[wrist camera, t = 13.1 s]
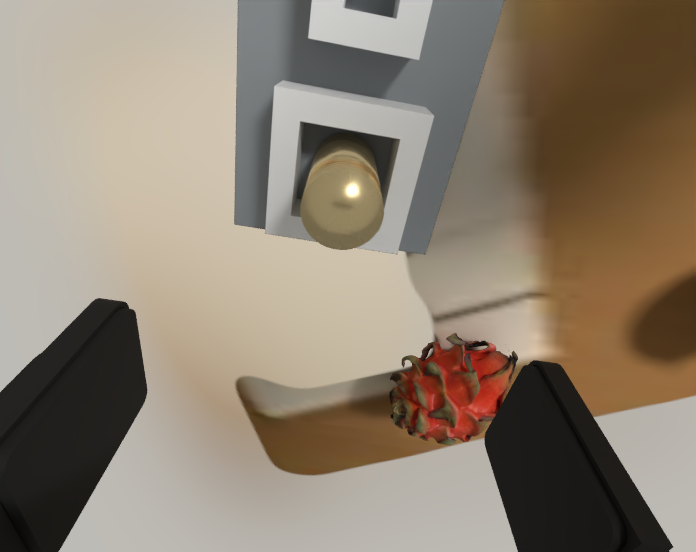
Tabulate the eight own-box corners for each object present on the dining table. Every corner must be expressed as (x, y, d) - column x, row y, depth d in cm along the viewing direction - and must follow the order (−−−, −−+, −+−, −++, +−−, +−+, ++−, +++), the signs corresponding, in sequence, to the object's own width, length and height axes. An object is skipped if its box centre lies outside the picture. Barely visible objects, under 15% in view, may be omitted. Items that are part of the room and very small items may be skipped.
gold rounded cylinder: (317, 127, 24) (305, 163, 17) (381, 138, 24) (392, 179, 18) (310, 188, 26) (296, 243, 19) (368, 198, 27) (374, 255, 20)
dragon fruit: (374, 368, 39) (480, 308, 37) (419, 446, 38) (532, 388, 36) (357, 387, 31) (492, 310, 29) (413, 487, 30) (560, 414, 28)
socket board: (248, -169, 19) (221, -222, 15) (527, -103, 20) (569, -137, 16) (239, 216, 29) (222, 243, 25) (422, 245, 30) (431, 276, 26)
